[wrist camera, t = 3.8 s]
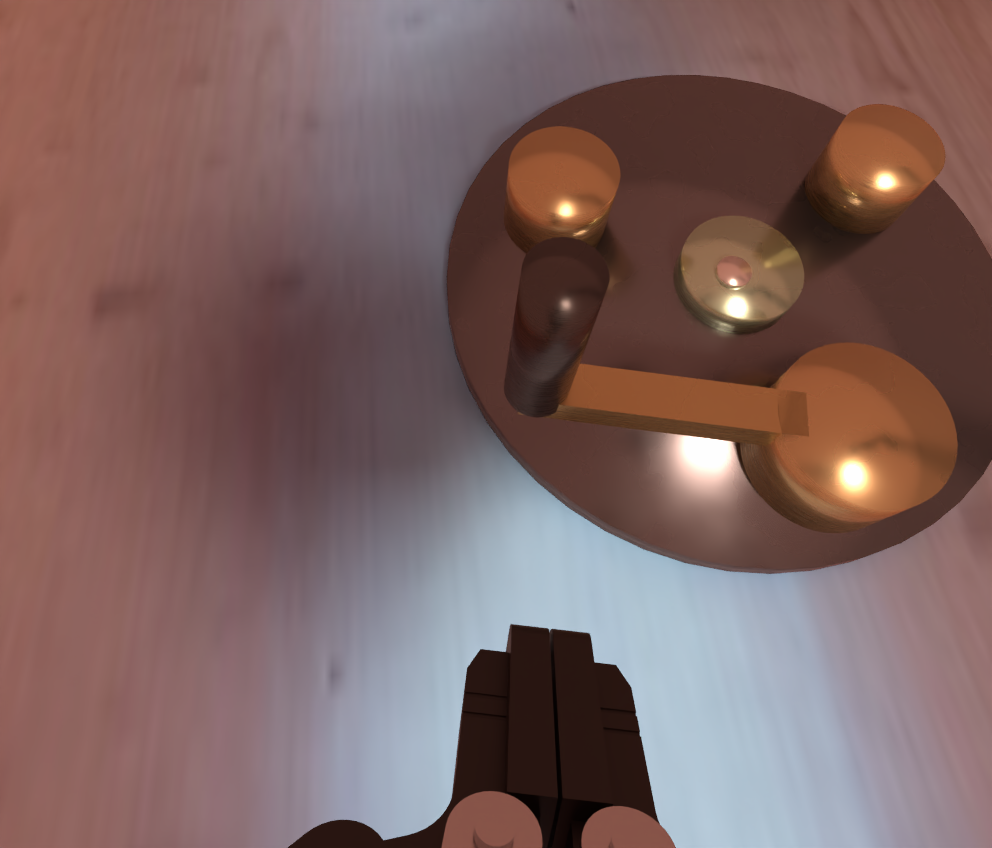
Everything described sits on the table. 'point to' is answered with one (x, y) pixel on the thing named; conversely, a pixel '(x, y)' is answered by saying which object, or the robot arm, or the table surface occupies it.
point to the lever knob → (740, 404)
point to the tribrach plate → (724, 293)
